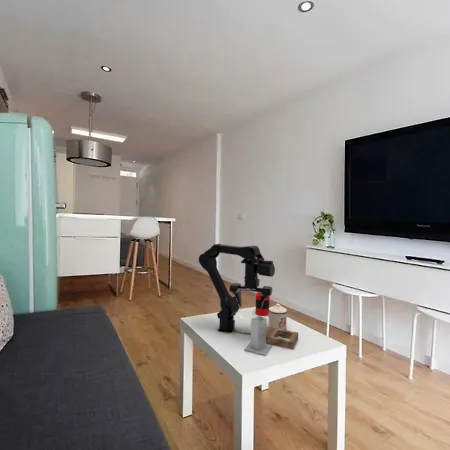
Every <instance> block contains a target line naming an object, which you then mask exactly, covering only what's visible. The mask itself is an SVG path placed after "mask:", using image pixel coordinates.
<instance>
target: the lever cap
mask: <svg viewBox="0 0 450 450" xmlns="http://www.w3.org/2000/svg"><path fill="white" fill-rule="evenodd" d="M250 320H251V321H250V322H251V323H250V342H251V346H250V347H251V348H252V349H254V350H256V351H259V350H261V349H263V348H266V327H267V321H268V319H267V318H265V317H264V316H259V315H257V316H255V317H253V318H251V319H250Z"/></svg>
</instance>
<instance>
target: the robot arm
mask: <svg viewBox="0 0 450 450" xmlns="http://www.w3.org/2000/svg"><path fill="white" fill-rule="evenodd" d="M220 254H227V255H233V256H238V257H240V258H242V260H241V261H240V264H244V281H243V282H244V285H242V284H241V283H239V282H238V283H237V282H233V283H232V284H230V285H229V288H227V286H226V284H225V282H224V280H223V278H222V275H221V273H220V272H219V270H218V263H217V262H218V260H217V258H218V257H219V255H220ZM197 260H198V263H199V264H200V266H201V268H203V270H204V271H206V272H207V274H208V276H209V278H210V280H211V282H212V285H213V286H214V289H215V290H216V293H217V295H218V298H219V299H220V305H219V306H220V310H219V312H217V318H218V319H219V328H218V329H217V331H218V332H223V333H230V334H232V332H233V331H234V330H235V328H236V320H235V316H236V314H237V313H238V312H239V309H240V308H241V307H242V291H247V292H253V293H254V292H255V293H257V292H261V293H262V295H261V299H260V310H261V308H262V305H263V302H264V300H265V298H266V297H268V296H271V295H272V294H273V287H272V286H267V285H263V286H262V287H260V281H261V280H260V279H259V276H263V277H270V278H273V277H274V275H275V272H276V266H275V265H274V260H265V258H264V257H263V255H262V253H261V250H260V248H259V246H257V245H245V246H238V245H229V244H222V243H216V244H215V243H214V244H213V245H211V247H210V248H208V249H207V250H205V251H204V252H203V253H202V254H200V255H199V257H198V259H197ZM228 289H229V291H228ZM229 292H232V294H233V295H234V296H232V295H231V294H230V293H229Z"/></svg>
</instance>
